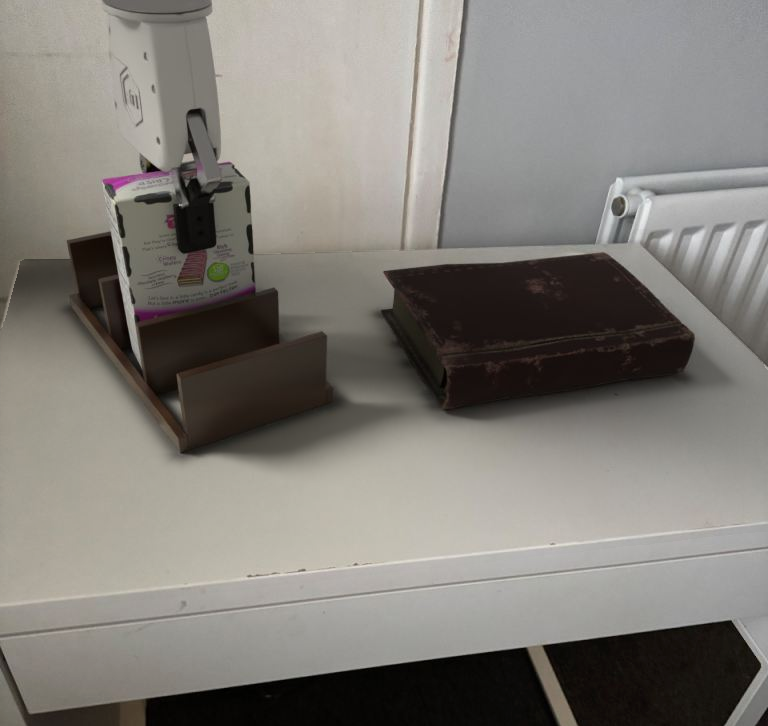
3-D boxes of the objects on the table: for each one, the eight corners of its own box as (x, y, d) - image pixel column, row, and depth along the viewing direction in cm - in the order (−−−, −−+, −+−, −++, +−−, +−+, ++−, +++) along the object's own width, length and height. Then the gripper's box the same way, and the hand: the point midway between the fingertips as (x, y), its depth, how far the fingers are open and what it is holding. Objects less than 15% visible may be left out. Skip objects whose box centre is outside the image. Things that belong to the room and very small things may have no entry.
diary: (684, 380, 80) (701, 335, 77) (444, 418, 73) (450, 370, 70) (589, 286, 93) (601, 243, 89) (377, 311, 86) (380, 265, 82)
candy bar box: (242, 327, 82) (232, 158, 71) (260, 354, 79) (253, 181, 67) (128, 350, 78) (98, 175, 66) (143, 379, 75) (115, 200, 63)
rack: (72, 308, 82) (57, 241, 78) (207, 275, 89) (202, 212, 84) (180, 453, 68) (170, 381, 63) (333, 401, 74) (335, 333, 69)
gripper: (60, -39, 61) (102, 203, 73) (153, 22, 51) (183, 289, 64) (157, -44, 64) (181, 188, 77) (262, 12, 54) (270, 268, 67)
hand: (182, 232), depth 70 cm, fingers closed on candy bar box, 5 cm apart
